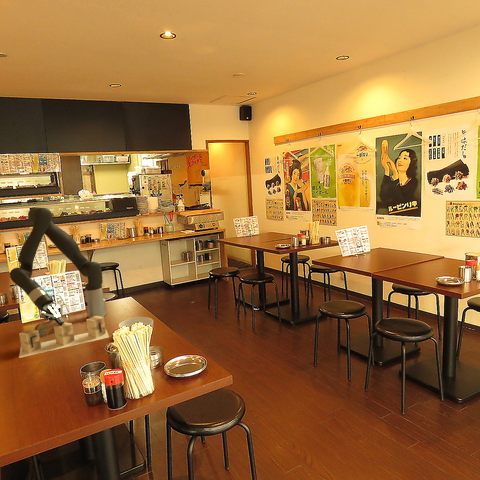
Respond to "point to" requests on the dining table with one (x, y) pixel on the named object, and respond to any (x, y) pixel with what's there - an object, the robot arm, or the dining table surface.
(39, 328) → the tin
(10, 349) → the dining table surface
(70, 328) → the plain block
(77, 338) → the board
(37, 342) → the marked block 7
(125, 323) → the cereal bowl
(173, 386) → the dining table surface
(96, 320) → the marked block 1
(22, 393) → the dining table surface
